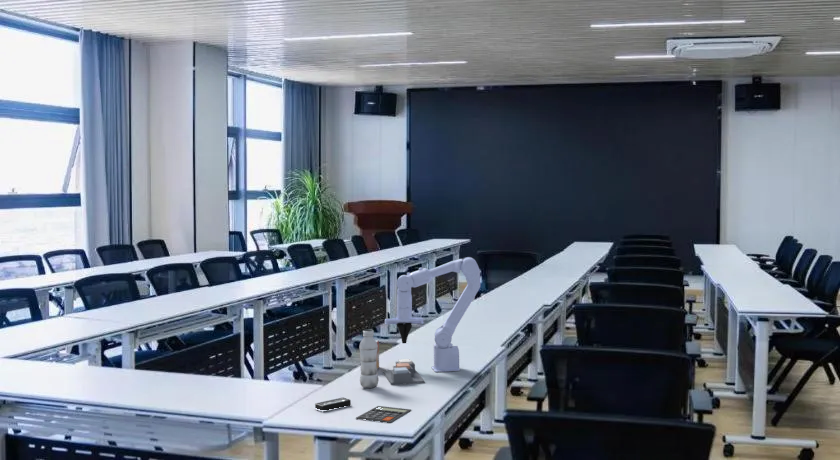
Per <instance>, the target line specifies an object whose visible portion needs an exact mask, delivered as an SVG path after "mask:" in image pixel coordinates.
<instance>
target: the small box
mask: <svg viewBox="0 0 840 460" xmlns="http://www.w3.org/2000/svg"><path fill="white" fill-rule="evenodd" d="M375 341H376V342H377V345H378V348H377V360H376V366H377V369H379V368H380V342H379V340H376V339H375ZM359 357H360V358H359V360H360V361H359V362H360V365H359V366H361V355H360V354H359Z"/></svg>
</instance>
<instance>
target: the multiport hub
mask: <svg viewBox="0 0 840 460" xmlns="http://www.w3.org/2000/svg"><path fill="white" fill-rule="evenodd" d="M351 402H352V401H351V399H350V398H345V397H339V398H335V399H329V400H325V401H321V402H316V403H314V405H315V406H314V407H315V408H317V409H320V410H329V409H334V408H339V407H344V406H348V407H351V406H350V405H352V404H351ZM344 408H345V407H344ZM339 409H340V408H339Z"/></svg>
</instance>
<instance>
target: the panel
mask: <svg viewBox="0 0 840 460" xmlns="http://www.w3.org/2000/svg"><path fill="white" fill-rule="evenodd" d="M396 364H399V363H398V361H395V365H393V366H392V367H393V369H385V370H382V374H383V376H385V378H386V379H387V381H388V383H389V384H390V385H391V386H393V385H395V386H396V385H398V386H399V385H410V384H426V383H425V382H426V381H425V379H424V378H423V377H422V376H421V375H420V374H419V371H417V370H416V364H415V362H413V361H412V364H409V365H410V368H409V369H408V373H399V374H395V373H394V368H396Z"/></svg>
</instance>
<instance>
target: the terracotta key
mask: <svg viewBox="0 0 840 460" xmlns="http://www.w3.org/2000/svg"><path fill="white" fill-rule="evenodd" d="M395 366H396V368H402V367H406V368H407V369H409V368H410V365H409V364H408V363H400V364H396V363H395Z"/></svg>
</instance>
